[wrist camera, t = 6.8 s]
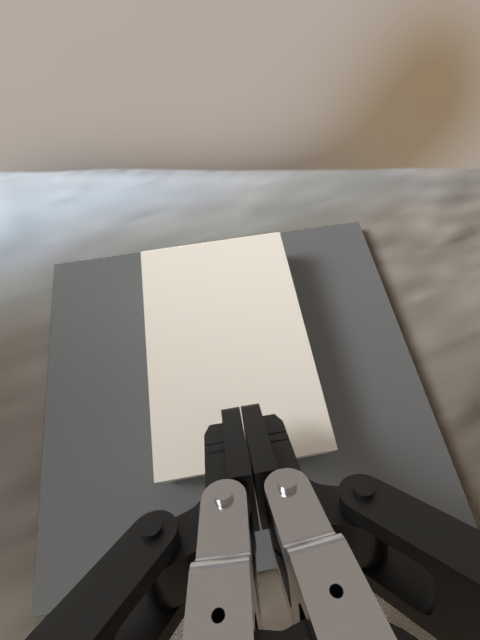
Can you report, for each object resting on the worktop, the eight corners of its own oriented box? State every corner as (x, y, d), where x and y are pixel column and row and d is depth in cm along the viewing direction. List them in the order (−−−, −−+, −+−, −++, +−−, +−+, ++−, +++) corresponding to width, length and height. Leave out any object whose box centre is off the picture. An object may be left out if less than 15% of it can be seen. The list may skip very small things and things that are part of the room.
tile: (153, 483, 15) (140, 251, 20) (165, 483, 17) (150, 274, 22) (337, 449, 15) (279, 232, 20) (326, 453, 18) (276, 256, 23)
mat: (41, 610, 16) (31, 617, 15) (60, 271, 23) (54, 264, 22) (468, 525, 17) (478, 527, 16) (354, 229, 24) (358, 221, 24)
